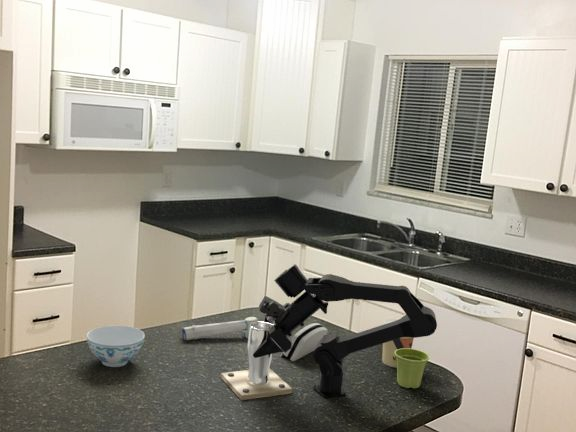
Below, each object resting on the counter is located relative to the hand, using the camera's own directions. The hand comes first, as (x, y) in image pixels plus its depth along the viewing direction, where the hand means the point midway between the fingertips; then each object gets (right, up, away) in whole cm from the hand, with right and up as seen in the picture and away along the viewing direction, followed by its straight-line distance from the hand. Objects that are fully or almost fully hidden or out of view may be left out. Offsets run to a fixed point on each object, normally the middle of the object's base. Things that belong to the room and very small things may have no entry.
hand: (253, 349), depth 164 cm
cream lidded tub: (+41, -10, +26) cm, 49 cm away
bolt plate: (+1, -10, +2) cm, 10 cm away
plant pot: (+42, -12, +11) cm, 45 cm away
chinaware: (-38, -5, +8) cm, 39 cm away
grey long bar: (-12, -4, +34) cm, 36 cm away
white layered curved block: (+14, -7, +28) cm, 32 cm away
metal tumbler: (+1, -9, +1) cm, 9 cm away
